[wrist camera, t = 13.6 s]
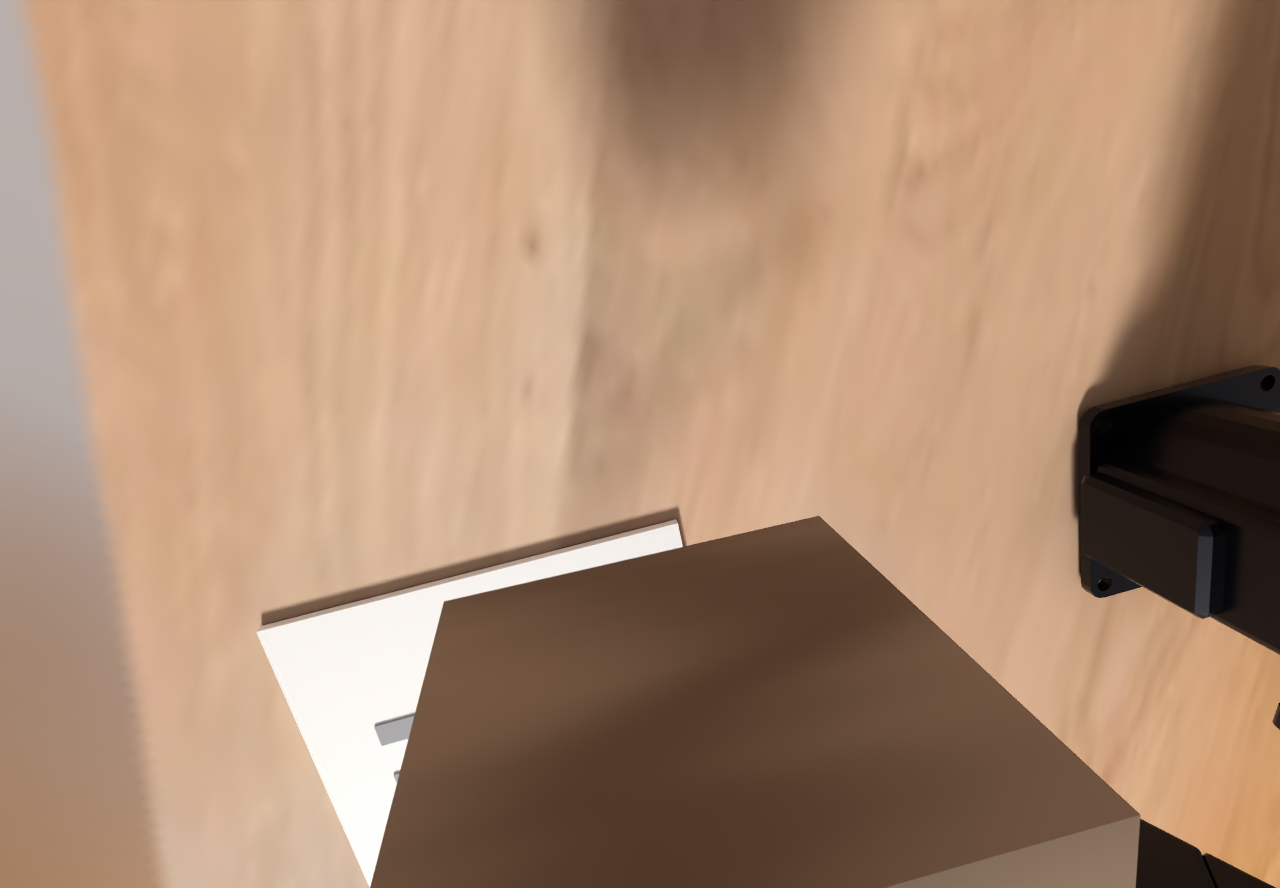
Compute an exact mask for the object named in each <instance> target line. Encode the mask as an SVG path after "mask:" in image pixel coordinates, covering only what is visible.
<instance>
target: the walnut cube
mask: <svg viewBox="0 0 1280 888" xmlns="http://www.w3.org/2000/svg"><path fill="white" fill-rule="evenodd" d="M1139 828H1140V814H1139V813H1138V812H1137V811H1136V810H1135V809H1134V808H1133V807H1131V806H1130V805H1129V804H1128V803H1127V802H1126V801H1125V800H1124V799H1123V798H1122V797H1121V796H1120V795H1119V794H1118V793H1116V792H1115V791H1114V790H1113V789H1112V788H1111V787H1110V786H1109V785H1108V784H1107V783H1106V782H1105V781H1104V780H1102V779H1101V778H1100V777H1099V776H1098V775H1097V774H1096V773H1095V772H1094V771H1093V770H1092V769H1091V768H1090V767H1088V766H1087V765H1086V764H1085V763H1084V762H1083V761H1082V760H1081V759H1080V758H1079V757H1078V756H1077V755H1076V754H1074V753H1073V752H1072V751H1071V750H1070V749H1069V748H1068V747H1067V746H1066V745H1065V744H1064V743H1063V742H1062V741H1061V740H1059V739H1058V738H1057V737H1056V736H1055V735H1054V734H1053V733H1052V732H1051V731H1050V730H1049V729H1048V728H1047V727H1045V726H1044V725H1043V724H1042V723H1041V722H1040V721H1039V720H1038V719H1037V718H1036V717H1035V716H1034V715H1033V714H1031V713H1030V712H1029V711H1028V710H1027V709H1026V708H1025V707H1024V706H1023V705H1022V704H1021V703H1020V702H1019V701H1017V700H1016V699H1015V698H1014V697H1013V696H1012V695H1011V694H1010V693H1009V692H1008V691H1007V690H1006V689H1005V688H1004V687H1002V686H1001V685H1000V684H999V683H998V682H997V681H996V680H995V679H994V678H993V677H992V676H991V675H990V674H988V673H987V672H986V671H985V670H984V669H983V668H982V667H981V666H980V665H979V664H978V663H977V662H976V661H974V660H973V659H972V658H971V657H970V656H969V655H968V654H967V653H966V652H965V651H964V650H963V649H962V648H961V647H959V646H958V645H957V644H956V643H955V642H954V641H953V640H952V639H951V638H950V637H949V636H948V635H947V634H945V633H944V632H943V631H942V630H941V629H940V628H939V627H938V626H937V625H936V624H935V623H934V622H933V621H931V620H930V619H929V618H928V617H927V616H926V615H925V614H924V613H923V612H922V611H921V610H920V609H919V608H917V607H916V606H915V605H914V604H913V603H912V602H911V601H910V600H909V599H908V598H907V597H906V596H905V595H904V594H902V593H901V592H900V591H899V590H898V589H897V588H896V587H895V586H894V585H893V584H892V583H891V582H890V581H888V580H887V579H886V578H885V577H884V576H883V575H882V574H881V573H880V572H879V571H878V570H877V569H876V568H874V567H873V566H872V565H871V564H870V563H869V562H868V561H867V560H866V559H865V558H864V557H863V556H862V555H860V554H859V553H858V552H857V551H856V550H855V549H854V548H853V547H852V546H851V545H850V544H849V543H848V542H847V541H845V540H844V539H843V538H842V537H841V536H840V535H839V534H838V533H837V532H836V531H835V530H834V529H833V528H831V527H830V526H829V525H828V524H827V523H826V522H825V521H824V520H823V519H822V518H821V517H820V516H816V517H812V518H808V519H803V520H799V521H795V522H790V523H786V524H781V525H777V526H773V527H768V528H764V529H759V530H755V531H751V532H746V533H742V534H737V535H733V536H729V537H724V538H720V539H716V540H711V541H707V542H702V543H698V544H694V545H689V546H685V547H680V548H676V549H672V550H667V551H663V552H659V553H654V554H650V555H645V556H641V557H637V558H632V559H628V560H623V561H619V562H615V563H610V564H606V565H601V566H597V567H593V568H588V569H584V570H580V571H575V572H571V573H566V574H562V575H558V576H553V577H549V578H544V579H540V580H536V581H531V582H527V583H523V584H518V585H514V586H509V587H505V588H501V589H496V590H492V591H487V592H483V593H479V594H474V595H470V596H466V597H461V598H457V599H452V600H448V601H444V603H443V607H442V611H441V615H440V618H439V622H438V626H437V630H436V634H435V638H434V642H433V646H432V649H431V653H430V657H429V661H428V665H427V669H426V673H425V677H424V680H423V684H422V688H421V692H420V696H419V700H418V704H417V708H416V711H415V715H414V719H413V723H412V727H411V731H410V735H409V739H408V743H407V746H406V750H405V754H404V758H403V762H402V766H401V770H400V774H399V777H398V781H397V785H396V789H395V793H394V797H393V801H392V805H391V808H390V812H389V816H388V820H387V824H386V828H385V832H384V836H383V839H382V843H381V847H380V851H379V855H378V859H377V863H376V867H375V870H374V874H373V878H372V882H371V886H370V888H1136V874H1137V858H1138V843H1139Z"/></svg>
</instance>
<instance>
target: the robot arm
mask: <svg viewBox="0 0 1280 888" xmlns="http://www.w3.org/2000/svg"><path fill="white" fill-rule="evenodd" d="M1101 419H1102V423H1101V425H1100V427H1099V428H1098V429H1097V426H1098V423H1099V421H1100V420H1101ZM1080 518H1081V584H1082V587H1083V588H1084V590H1085V591H1087V592H1089V593H1090V594H1092V595H1093V596H1095V597H1098V598H1103V597H1108V596H1111V595H1115V594H1118V593H1122V592H1125V591H1129V590H1133V589H1136V588H1140V587H1144V588H1146V589H1148V590H1150V591H1151V592H1153V593H1155V594H1157V595H1159V596H1160V597H1162V598H1164V599H1166V600H1168V601H1169V602H1171V603H1173V604H1175V605H1177V606H1178V607H1180V608H1182V609H1184V610H1186V611H1187V612H1189V613H1191V614H1193V615H1195V616H1196V617H1199V618H1202V619H1204V618H1207V617H1211V618H1213V619H1215V620H1217V621H1218V622H1220V623H1222V624H1224V625H1226V626H1228V627H1229V628H1231V629H1233V630H1235V631H1237V632H1239V633H1241V634H1242V635H1244V636H1246V637H1248V638H1250V639H1252V640H1253V641H1255V642H1257V643H1259V644H1261V645H1263V646H1264V647H1266V648H1268V649H1270V650H1272V651H1274V652H1276V653H1277V654H1279V655H1280V370H1279V369H1277V368H1275V367H1270V366H1264V365H1255V366H1251V367H1247V368H1244V369H1240V370H1236V371H1232V372H1228V373H1224V374H1220V375H1216V376H1212V377H1208V378H1205V379H1201V380H1197V381H1193V382H1189V383H1185V384H1181V385H1177V386H1173V387H1169V388H1166V389H1162V390H1158V391H1154V392H1150V393H1146V394H1142V395H1138V396H1134V397H1130V398H1127V399H1123V400H1119V401H1115V402H1111V403H1107V404H1103V405H1099V406H1095V407H1093V408H1091V409H1089V410H1088V411H1087V412H1085V413H1084V415H1083V417H1082V418H1081V421H1080ZM1100 580H1101V581H1100ZM1099 581H1100V582H1099ZM1098 582H1099V583H1098ZM1273 723H1274V725H1275V726H1276V727H1277V728H1279V729H1280V703H1279V704H1278V707H1277V710H1276V713H1275V716H1274V719H1273ZM1136 888H1275V887H1273V886H1271V885H1269V884H1267V883H1265V882H1263V881H1261V880H1259V879H1257V878H1255V877H1253V876H1251V875H1249V874H1247V873H1245V872H1243V871H1242V870H1240V869H1238V868H1236V867H1234V866H1232V865H1230V864H1228V863H1226V862H1224V861H1222V860H1220V859H1218V858H1216V857H1214V856H1212V855H1210V854H1208V853H1205V854H1203V855H1202V854H1201V852H1200V850H1199V849H1198V848H1196V847H1194V846H1192V845H1190V844H1189V843H1187V842H1185V841H1183V840H1181V839H1179V838H1177V837H1175V836H1173V835H1171V834H1169V833H1167V832H1165V831H1163V830H1161V829H1159V828H1157V827H1156V826H1154V825H1152V824H1150V823H1148V822H1146V821H1144V820H1142V819H1140V828H1139V843H1138V858H1137V874H1136Z"/></svg>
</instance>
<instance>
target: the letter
mask: <svg viewBox="0 0 1280 888" xmlns="http://www.w3.org/2000/svg"><path fill="white" fill-rule="evenodd" d="M680 547H683V545H682V540H681V536H680V531H679V526H678V523H677V521H676V519H675V520H671V521H667V522H664V523H660V524H656V525H652V526H648V527H644V528H640V529H636V530H632V531H629V532H625V533H621V534H617V535H613V536H609V537H605V538H601V539H597V540H594V541H590V542H586V543H582V544H578V545H574V546H570V547H566V548H562V549H559V550H555V551H551V552H547V553H543V554H539V555H535V556H531V557H527V558H524V559H520V560H516V561H512V562H508V563H504V564H500V565H496V566H492V567H489V568H485V569H481V570H477V571H473V572H469V573H465V574H461V575H457V576H454V577H450V578H446V579H442V580H438V581H434V582H430V583H426V584H422V585H419V586H415V587H411V588H407V589H403V590H399V591H395V592H391V593H387V594H384V595H380V596H376V597H372V598H368V599H364V600H360V601H356V602H352V603H349V604H345V605H341V606H337V607H333V608H329V609H325V610H321V611H317V612H314V613H310V614H306V615H302V616H298V617H294V618H290V619H286V620H282V621H279V622H275V623H271V624H267V625H263V626H260V628H259V629H258V630H257V635H258V637H259V639H260V641H261V644H262V646H263V648H264V650H265V653H266V655H267V657H268V659H269V662H270V664H271V666H272V668H273V671H274V673H275V675H276V677H277V680H278V682H279V684H280V686H281V689H282V691H283V693H284V695H285V698H286V700H287V702H288V704H289V707H290V709H291V711H292V714H293V716H294V718H295V720H296V723H297V725H298V727H299V729H300V732H301V734H302V736H303V738H304V741H305V743H306V745H307V747H308V750H309V752H310V754H311V756H312V759H313V761H314V763H315V765H316V768H317V770H318V772H319V774H320V777H321V779H322V781H323V783H324V786H325V788H326V790H327V792H328V795H329V797H330V799H331V802H332V804H333V806H334V808H335V811H336V813H337V815H338V817H339V820H340V822H341V824H342V826H343V829H344V831H345V833H346V835H347V838H348V840H349V842H350V844H351V847H352V849H353V851H354V853H355V856H356V858H357V860H358V862H359V865H360V867H361V869H362V871H363V874H364V876H365V878H366V880H367V883H368V885H369V887H370V886H371V882H372V878H373V874H374V870H375V867H376V863H377V859H378V855H379V851H380V847H381V843H382V839H383V836H384V832H385V828H386V824H387V820H388V816H389V812H390V808H391V805H392V801H393V797H394V793H395V789H396V785H397V781H398V777H399V774H400V770H401V766H402V762H403V758H404V754H405V750H406V746H407V743H408V739H409V735H410V731H411V727H412V723H413V719H414V715H415V711H416V708H417V704H418V700H419V696H420V692H421V688H422V684H423V680H424V677H425V673H426V669H427V665H428V661H429V657H430V653H431V649H432V646H433V642H434V638H435V634H436V630H437V626H438V622H439V618H440V615H441V611H442V607H443V603H444V601H448V600H452V599H457V598H461V597H466V596H470V595H474V594H479V593H483V592H487V591H492V590H496V589H501V588H505V587H509V586H514V585H518V584H523V583H527V582H531V581H536V580H540V579H544V578H549V577H553V576H558V575H562V574H566V573H571V572H575V571H580V570H584V569H588V568H593V567H597V566H601V565H606V564H610V563H615V562H619V561H623V560H628V559H632V558H637V557H641V556H645V555H650V554H654V553H659V552H663V551H667V550H672V549H676V548H680Z"/></svg>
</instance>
